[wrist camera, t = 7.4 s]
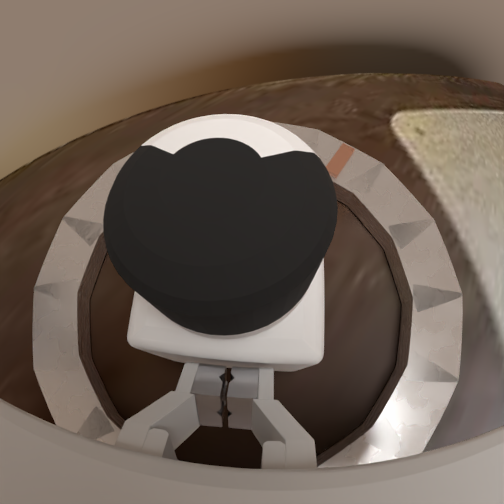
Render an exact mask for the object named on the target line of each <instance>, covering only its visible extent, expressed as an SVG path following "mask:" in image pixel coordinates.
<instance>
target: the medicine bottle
mask: <svg viewBox="0 0 504 504" xmlns="http://www.w3.org/2000/svg"><path fill="white" fill-rule="evenodd" d="M337 209H338V208H337V197H336V192H335V188H334V184H333V181H332V179H331V177H330V174H329V172H328V170H327V168H326V167H325V165H324V164H323V162H322V161H321V159H320V158H319V157H318V155H317V154H316V153H315V152H314V151H313V150H312V149H311V148H310V147H309V146H308V145H307V144H306V143H305V142H304V141H302V140H301V139H300V138H299V137H298V136H296V135H295V134H293V133H292V132H290V131H289V130H287V129H285V128H283V127H281V126H279V125H277V124H275V123H273V122H270V121H267V120H264V119H260V118H256V117H252V116H246V115H238V114H219V115H209V116H203V117H197V118H194V119H190V120H186V121H184V122H181V123H178V124H176V125H173V126H171V127H169V128H167V129H165V130H163V131H161V132H160V133H158V134H156V135H155V136H153V137H152V138H150V139H149V140H148V141H146V142H145V143H144V144H143V145H141V146H140V147H139V148H138V149H137V150H136V151H135V152H134V153H133V154H132V155H131V156H130V157H129V159H128V160H127V161H126V162H125V164H124V165H123V167H122V168H121V170H120V171H119V173H118V175H117V176H116V179H115V181H114V183H113V185H112V187H111V190H110V192H109V195H108V198H107V201H106V205H105V210H104V218H103V234H104V239H105V245H106V249H107V251H108V254H109V257H110V259H111V262H112V263H113V265H114V267H115V268H116V270H117V272H118V274H119V275H120V276H121V277H122V278H123V279H124V281H125V282H126V283H127V284H128V285H129V286H130V287H131V288H132V289H133V290H135V293H134V298H133V304H132V309H131V315H130V321H129V327H128V333H127V341H128V342H129V344H130V345H131V346H132V347H134V348H137V349H140V350H142V351H145V352H148V353H151V354H154V355H157V356H160V357H164V358H167V359H170V360H173V361H177V362H182V363H186V362H194V363H204V364H213V365H222V366H226V367H227V368H232V366H236V367H256V368H260V367H261V368H273V369H274V371H286V372H293V371H297V370H300V369H303V368H306V367H309V366H312V365H315V364H318V363H319V362H320V361H321V360H322V358H323V355H324V256H325V254H326V252H327V249H328V247H329V245H330V243H331V241H332V238H333V235H334V231H335V227H336V222H337Z"/></svg>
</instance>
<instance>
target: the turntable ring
mask: <svg viewBox="0 0 504 504" xmlns="http://www.w3.org/2000/svg"><path fill="white" fill-rule="evenodd" d="M273 123H275V124H277V125H279V126H281V127H283V128H285V129H287V130H289V131H290V132H292V133H293V134H295V135H296V136H298V137H299V138H300V139H301V140H302V141H304V142H305V143H306V144H307V145H308V146H309V147H310V148H311V149H312V150H313V151H314V152H315V153H316V154H317V155H318V157H319V158H320V159H321V161H322V162H323V164H324V165H325V167H326V168H327V170H328V172H329V174H330V177H331V179H332V181H333V184H334V188H335V192H336V197H337V200H338V201H340V202H342V203H343V204H345V205H347V206H348V207H349V208H350V209H351V210H352V212H353V213H354V214H355V215H356V216H357V217H358V219H359V220H360V221H361V222H362V223H363V224H364V226H365V227H366V228H367V229H368V230H369V232H370V233H371V234H372V235H373V236H374V238H375V239H376V240H377V241H378V243H379V244H380V245H381V246H382V247H383V249H384V251H385V254H386V257H387V259H388V262H389V265H390V268H391V271H392V274H393V277H394V281H395V284H396V287H397V290H398V293H399V297H400V300H401V304H402V311H401V324H400V336H399V345H398V354H397V362H396V367H395V369H394V371H393V373H392V375H391V377H390V379H389V381H388V382H387V384H386V386H385V388H384V390H383V391H382V393H381V395H380V397H379V398H378V400H377V402H376V403H375V405H374V407H373V408H372V410H371V412H370V413H369V415H368V417H367V418H366V420H365V421H364V423H363V424H362V425H361V426H359V427H358V428H357V429H355V430H354V431H353V432H351V433H350V434H349V435H347V436H346V437H345V438H343V439H342V440H341V441H339V442H338V443H336V444H335V445H333V446H332V447H331V448H329V449H328V450H326V451H325V452H323V453H322V454H320V455H319V456H317V457H316V461H317V468H331V467H342V466H351V465H360V464H367V463H374V462H380V461H386V460H391V459H397V458H402V457H406V456H411V455H415V454H420V453H422V451H423V449H424V448H425V446H426V444H427V443H428V441H429V439H430V437H431V436H432V434H433V432H434V430H435V428H436V426H437V425H438V423H439V421H440V419H441V417H442V415H443V413H444V411H445V409H446V407H447V405H448V402H449V400H450V398H451V396H452V394H453V391H454V389H455V387H456V385H457V383H458V380H459V379H458V378H459V369H460V358H461V343H462V296H463V295H462V292H461V289H460V286H459V283H458V280H457V277H456V274H455V271H454V269H453V266H452V263H451V260H450V258H449V255H448V252H447V250H446V247H445V245H444V242H443V240H442V237H441V235H440V233H439V230H438V228H437V226H436V223H435V220H434V219H433V218H432V217H431V216H430V214H429V213H428V212H427V211H426V210H425V209H424V207H423V206H422V205H421V204H420V203H419V202H418V201H417V199H416V198H415V197H414V196H413V195H412V194H411V193H410V192H409V191H408V189H407V188H406V187H405V186H404V185H403V184H402V183H401V182H400V181H399V180H398V179H397V178H396V177H395V176H394V175H393V174H392V172H391V171H390V170H389V169H388V168H387V167H386V166H385V165H384V164H383V163H381V162H379V161H377V160H375V159H374V158H372V157H370V156H368V155H367V154H365V153H363V152H361V151H359V150H357V149H355V148H354V147H352V146H350V145H348V144H346V143H344V142H342V141H340V140H338V139H336V138H334V137H332V136H330V135H328V134H326V133H324V132H322V131H320V130H318V129H312V128H306V127H301V126H295V125H289V124H283V123H276V122H273ZM133 153H134V152H133ZM133 153H132V154H133ZM132 154H130V155H128V156H126V157H124V158H123V159H121V160H119V161H117V162H116V163H114V164H112V166H111V167H110V168H109V169H108V170H107V171H106V172H105V173H104V174H103V175H102V176H101V177H100V178H99V179H98V180H97V181H96V182H95V183H94V184H93V185H92V186H91V187H90V188H89V189H88V190H87V191H86V193H85V194H84V195H83V196H82V197H81V198H80V199H79V200H78V201H77V202H76V204H75V205H74V206H73V207H72V208H71V209H70V210H69V212H68V213H67V214H66V215H65V216H64V217H63V219H62V221H61V224H60V226H59V228H58V230H57V232H56V235H55V237H54V239H53V241H52V244H51V246H50V248H49V251H48V253H47V256H46V258H45V261H44V263H43V266H42V268H41V271H40V273H39V276H38V279H37V282H36V284H35V286H34V300H33V366H34V367H33V368H34V371H35V374H36V377H37V380H38V382H39V385H40V388H41V390H42V393H43V396H44V398H45V401H46V403H47V405H48V408H49V410H50V412H51V415H52V417H53V419H54V421H55V424H56V425H57V426H59V427H61V428H64V429H67V430H69V431H72V432H74V433H77V434H80V435H83V436H86V437H88V438H91V439H94V440H98V441H101V442H104V443H107V444H110V445H115V443H116V440H117V438H118V436H119V434H120V431H121V429H122V427H123V425H124V423H125V420H124V419H123V418H122V417H121V416H120V415H119V414H118V412H117V410H116V408H115V406H114V405H113V403H112V401H111V399H110V397H109V395H108V393H107V391H106V389H105V387H104V384H103V382H102V380H101V378H100V376H99V374H98V372H97V369H96V367H95V365H94V362H93V360H92V356H91V341H90V312H89V299H90V296H91V293H92V290H93V287H94V285H95V282H96V279H97V276H98V273H99V271H100V268H101V265H102V263H103V260H104V258H105V255H106V252H107V249H106V245H105V239H104V234H103V218H104V210H105V205H106V201H107V198H108V195H109V192H110V190H111V187H112V185H113V183H114V181H115V179H116V176H117V175H118V173H119V171H120V170H121V168H122V167H123V165H124V164H125V162H126V161H127V160H128V159H129V157H130V156H131V155H132ZM179 461H180V460H179Z"/></svg>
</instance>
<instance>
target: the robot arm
mask: <svg viewBox="0 0 504 504" xmlns="http://www.w3.org/2000/svg"><path fill="white" fill-rule="evenodd" d="M226 378H227V367H226V366H222V365H213V364H204V363H194V362H186V363H185V365H184V367H183V370H182V373H181V376H180V379H179V381H178V384H177V387H176V390H175V391H170V392H169V393H167V394H166V395H164V396H163V397H161V398H160V399H158V400H157V401H155V402H154V403H152V404H151V405H149V406H148V407H146V408H145V409H143V410H142V411H140V412H138V413H137V414H135V415H134V416H132V417H131V418H129V419H127V420H126V421H125V423H124V425H123V427H122V429H121V431H120V434H119V436H118V438H117V440H116V443H115V445H110V444H107V443H104V442H101V441H98V440H94V439H91V438H88V437H86V436H83V435H80V434H77V433H74V432H72V431H69V430H67V429H64V428H61V427H59V426H57V425H54V424H52V423H49V422H47V421H45V420H43V419H40V418H38V417H36V416H34V415H32V414H30V413H27V412H25V411H23V410H21V409H19V408H17V407H15V406H14V405H12V404H10V403H8V402H6V401H4V400H2V399H1V398H0V504H504V426H501V427H499V428H497V429H494V430H492V431H489V432H487V433H484V434H481V435H479V436H476V437H473V438H470V439H468V440H465V441H462V442H459V443H456V444H452V445H449V446H446V447H442V448H439V449H435V450H431V451H428V452H424V453H420V454H415V455H411V456H406V457H402V458H397V459H391V460H386V461H380V462H374V463H367V464H360V465H351V466H342V467H331V468H317V461H316V451H315V441H314V439H313V438H312V437H311V436H310V435H309V434H308V433H307V432H306V431H305V429H304V428H303V427H302V426H301V425H300V424H299V423H298V422H297V421H296V420H295V419H294V417H293V416H292V415H291V414H290V413H289V412H288V411H287V410H286V409H285V407H284V406H283V405H282V404H281V403H280V402H279V401H278V400H274V369H273V368H261V367H260V368H256V367H236V366H232V369H231V382H229V387H228V382H227V381H226ZM258 381H259V382H258ZM227 392H228V394H227ZM226 402H227V408H228V410H229V413H228V424H229V428H237V429H249V430H252V432H253V434H254V435H255V437H256V438H257V440H258V441H259V443H260V445H261V446H262V448H263V451H262V460H261V469H249V468H234V467H223V466H213V465H205V464H198V463H191V462H185V461H179V460H177V457H176V454H175V451H174V450H175V449H176V448H177V447H178V446H179V445H181V444H182V443H183V442H184V441H185V440H186V439H187V438H188V437H189V436H190V435H191V434H192V433H193V432H194V431H195V430H196V429H197V428H198V427H199V425H204V426H215V427H222V426H223V420H224V414H225V412H224V406H225V405H226Z"/></svg>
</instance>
